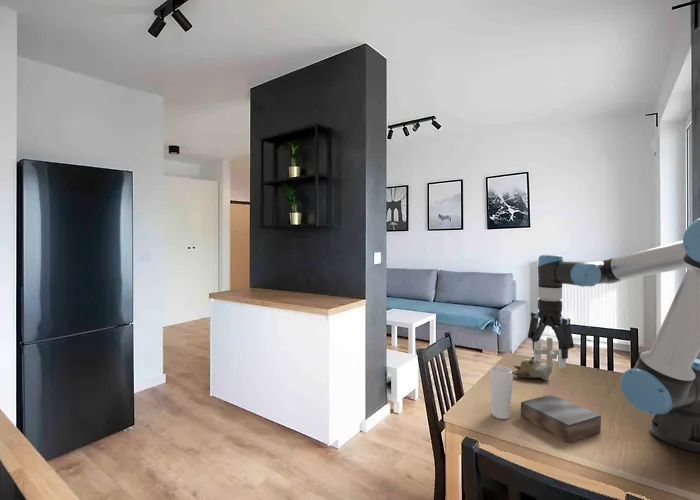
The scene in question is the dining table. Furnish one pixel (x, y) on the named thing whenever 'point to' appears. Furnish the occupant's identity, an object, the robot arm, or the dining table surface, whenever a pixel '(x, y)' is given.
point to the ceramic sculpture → (533, 369)
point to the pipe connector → (548, 351)
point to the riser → (561, 417)
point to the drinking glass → (501, 391)
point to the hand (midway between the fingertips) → (549, 363)
